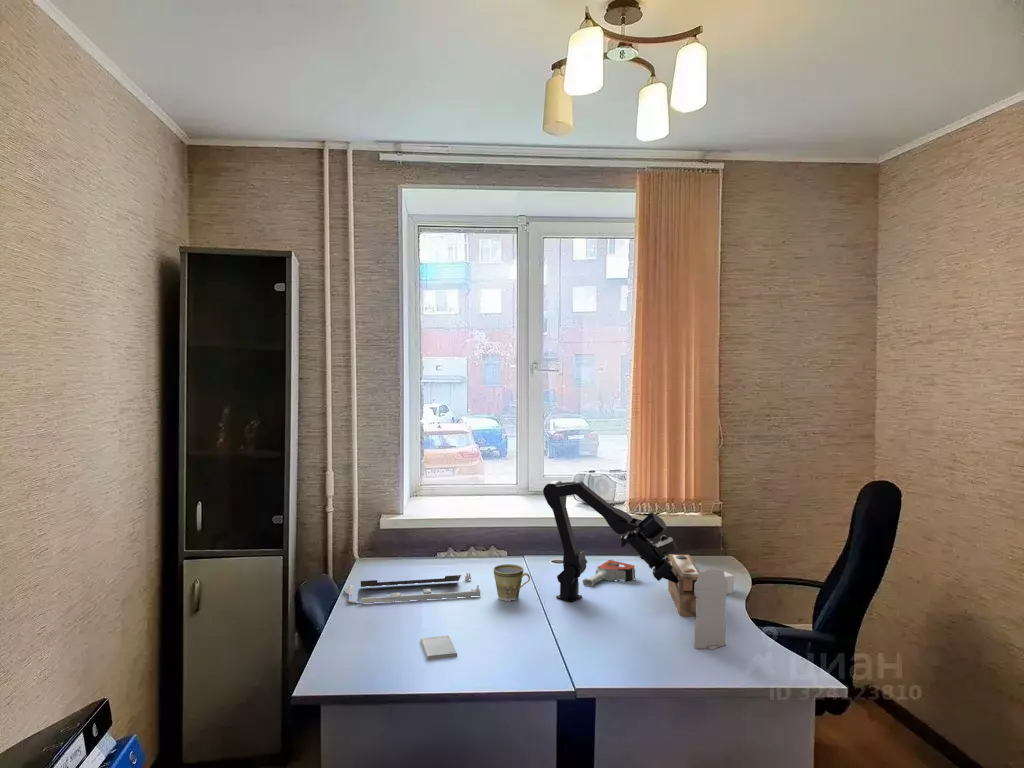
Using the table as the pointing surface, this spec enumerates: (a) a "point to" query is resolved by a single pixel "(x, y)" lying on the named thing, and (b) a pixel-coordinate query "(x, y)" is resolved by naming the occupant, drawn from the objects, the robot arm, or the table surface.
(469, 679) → the table surface
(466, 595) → the paper cutter
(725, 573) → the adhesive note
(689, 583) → the salmon pink cube
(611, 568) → the tape dispenser
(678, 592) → the wooden stand
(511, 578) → the ceramic cup
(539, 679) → the table surface
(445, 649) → the hard drive
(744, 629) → the table surface
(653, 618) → the table surface
